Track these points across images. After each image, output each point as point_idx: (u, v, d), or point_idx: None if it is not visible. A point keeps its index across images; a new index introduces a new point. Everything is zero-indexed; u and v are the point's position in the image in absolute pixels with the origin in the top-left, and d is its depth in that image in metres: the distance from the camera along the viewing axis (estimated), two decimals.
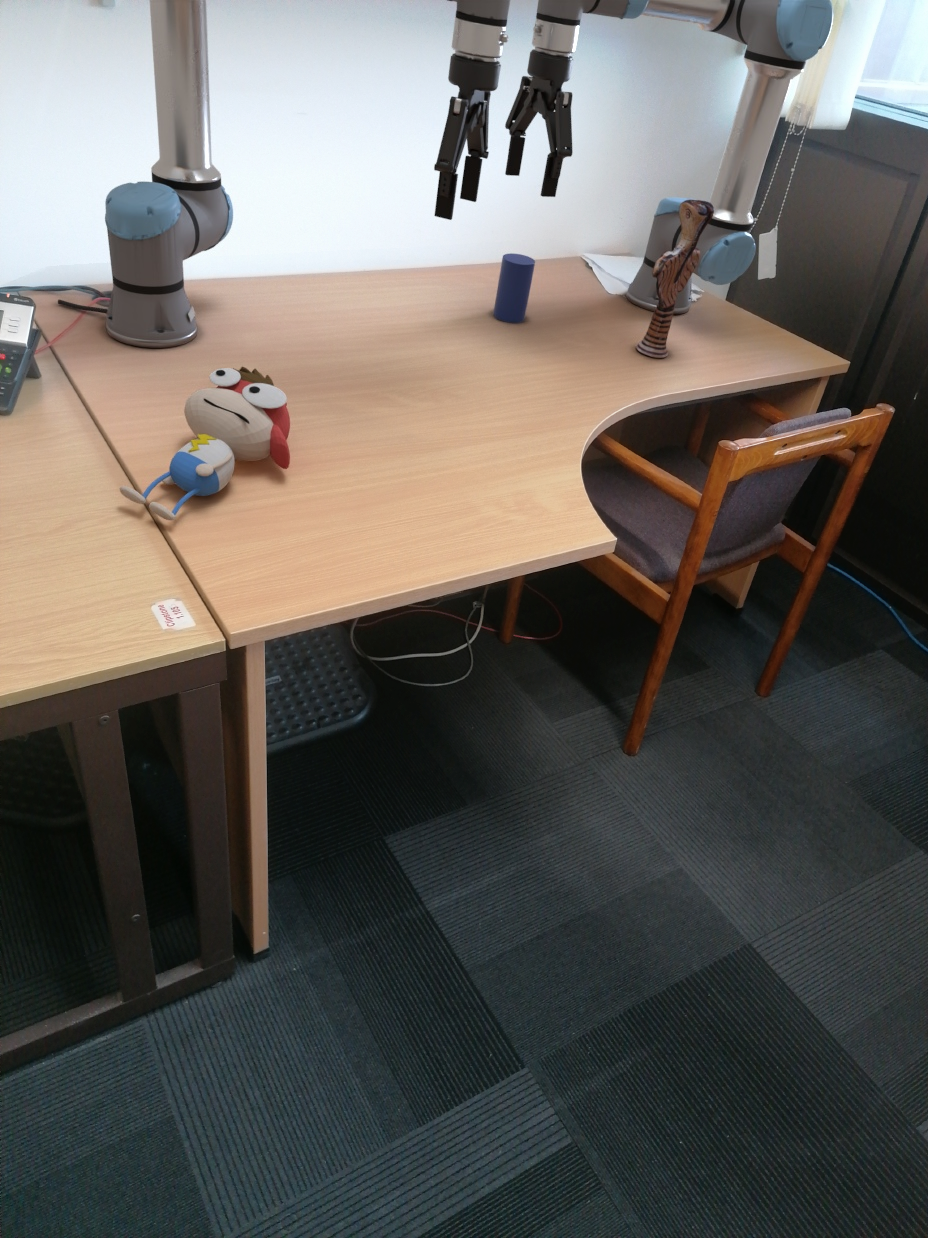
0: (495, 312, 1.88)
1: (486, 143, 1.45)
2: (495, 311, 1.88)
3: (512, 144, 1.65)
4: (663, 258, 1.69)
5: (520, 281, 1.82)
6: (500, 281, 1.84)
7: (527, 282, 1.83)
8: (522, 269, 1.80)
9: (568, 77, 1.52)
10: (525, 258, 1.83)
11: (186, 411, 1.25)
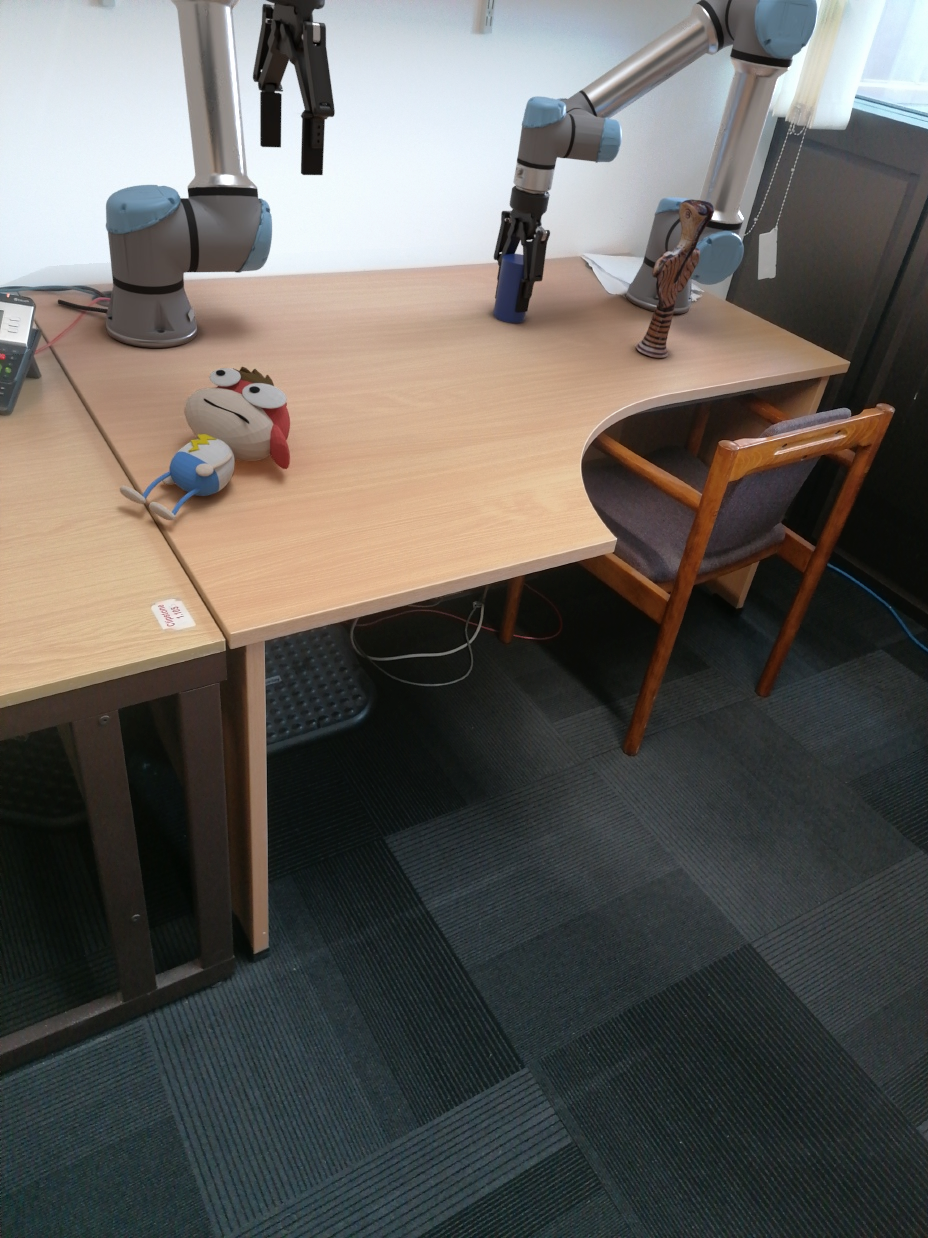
0: (495, 312, 1.88)
1: None
2: (495, 311, 1.88)
3: None
4: (663, 258, 1.69)
5: None
6: (500, 281, 1.84)
7: None
8: (522, 269, 1.80)
9: (546, 210, 1.75)
10: None
11: (186, 411, 1.25)
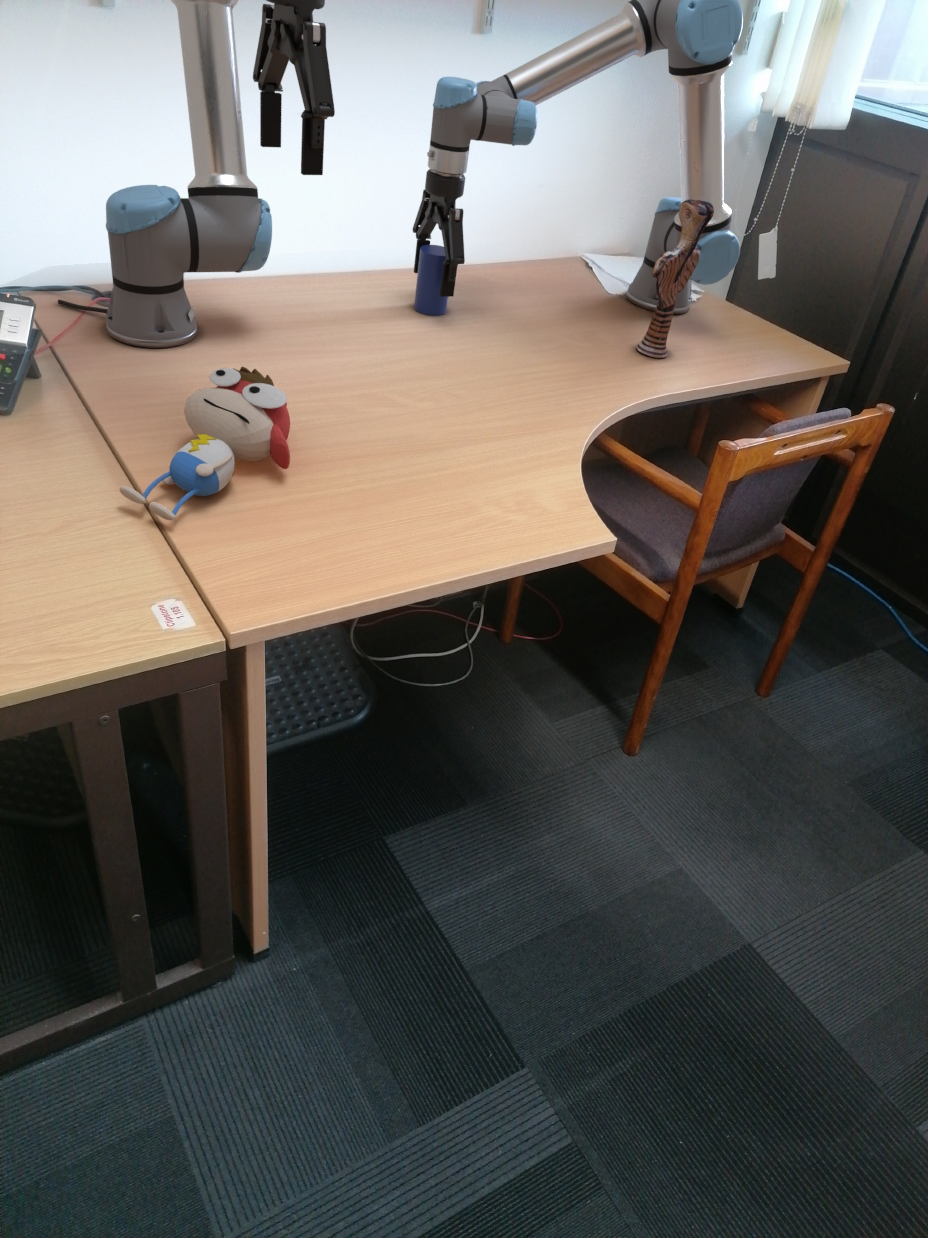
0: (415, 304, 1.85)
1: None
2: (415, 303, 1.85)
3: (418, 247, 1.83)
4: (663, 258, 1.69)
5: (436, 272, 1.78)
6: (418, 272, 1.81)
7: None
8: (438, 260, 1.77)
9: (461, 194, 1.71)
10: None
11: (186, 411, 1.25)
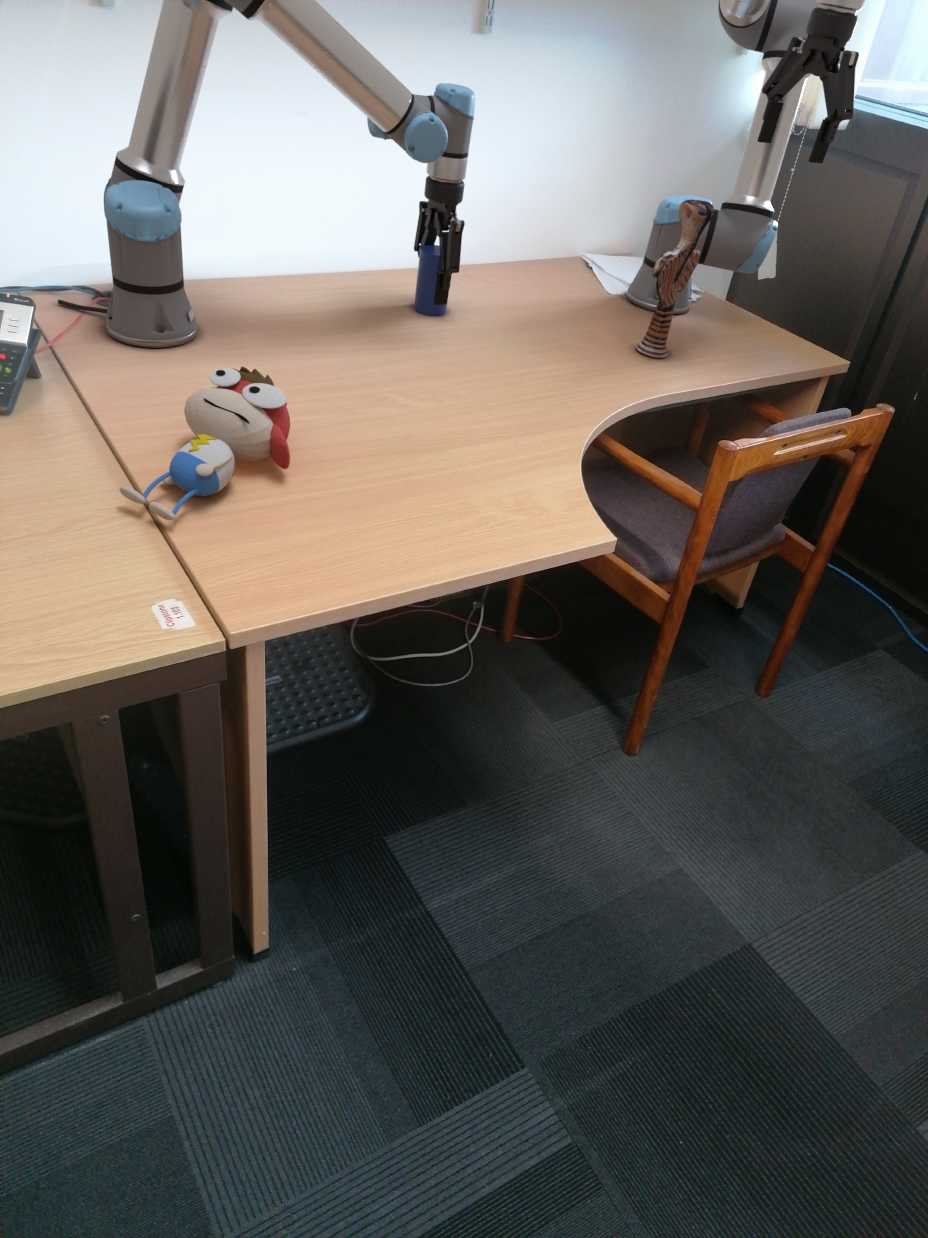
0: (415, 304, 1.85)
1: None
2: (415, 303, 1.85)
3: (770, 109, 1.59)
4: (663, 258, 1.69)
5: (436, 272, 1.78)
6: (418, 272, 1.81)
7: None
8: (438, 260, 1.77)
9: (851, 36, 1.46)
10: None
11: (186, 411, 1.25)
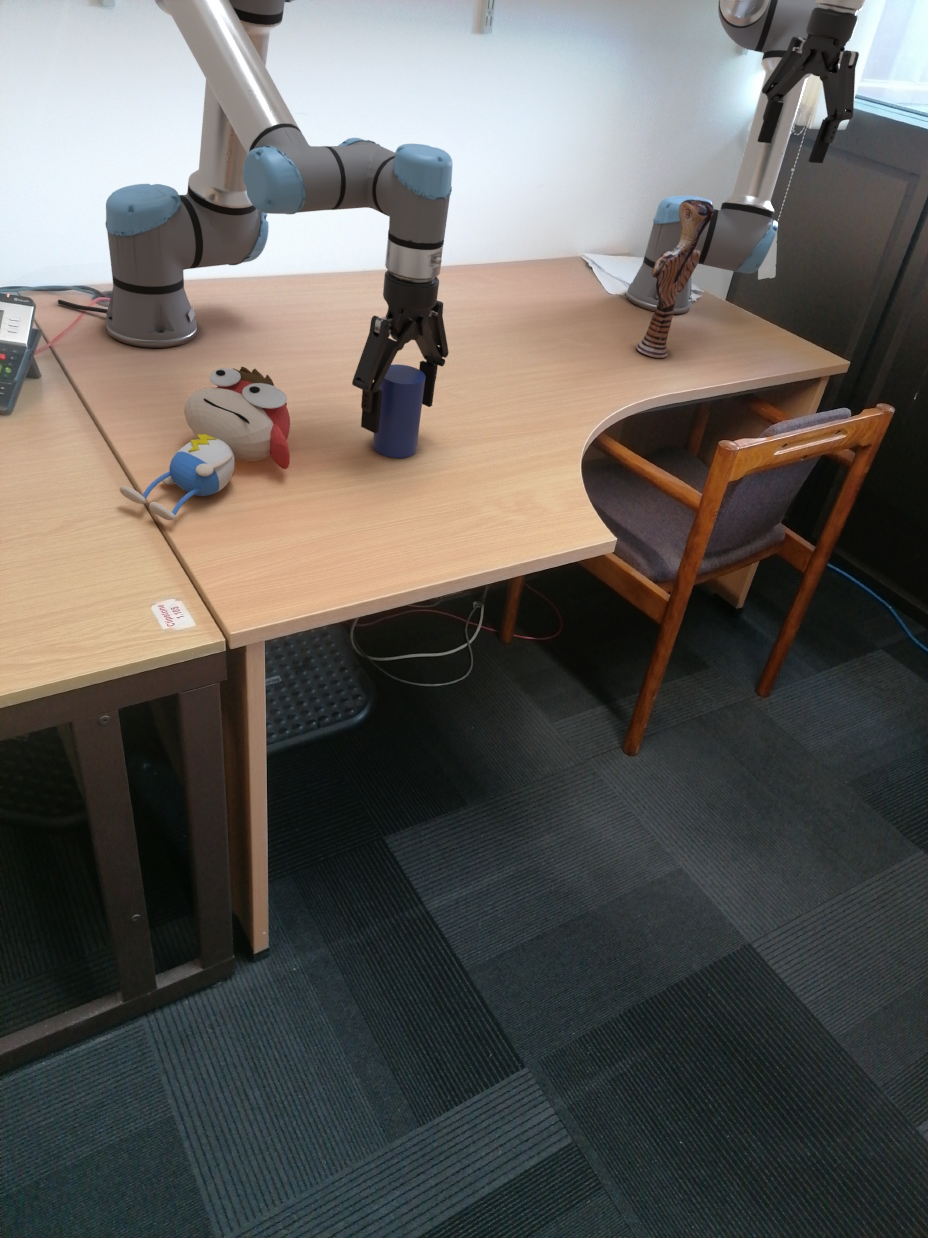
0: None
1: (444, 350, 1.35)
2: None
3: (770, 109, 1.59)
4: (663, 258, 1.69)
5: None
6: None
7: (387, 404, 1.30)
8: None
9: (851, 36, 1.46)
10: (412, 378, 1.30)
11: (186, 411, 1.25)
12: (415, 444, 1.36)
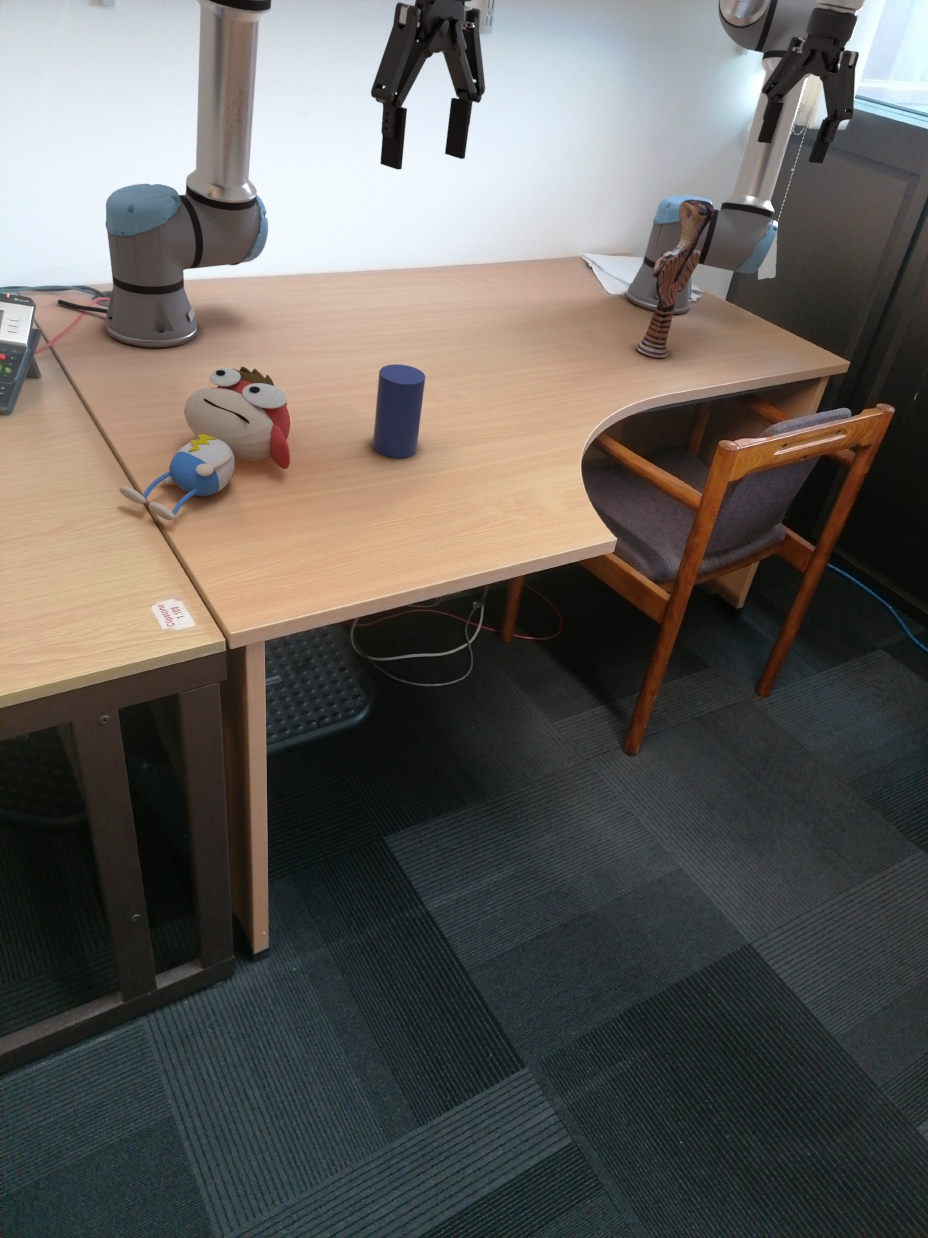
0: None
1: (481, 83, 1.13)
2: None
3: (770, 109, 1.59)
4: (663, 258, 1.69)
5: (379, 397, 1.31)
6: None
7: (387, 404, 1.30)
8: (381, 382, 1.29)
9: (851, 36, 1.46)
10: (412, 378, 1.30)
11: (186, 411, 1.25)
12: (415, 444, 1.36)
